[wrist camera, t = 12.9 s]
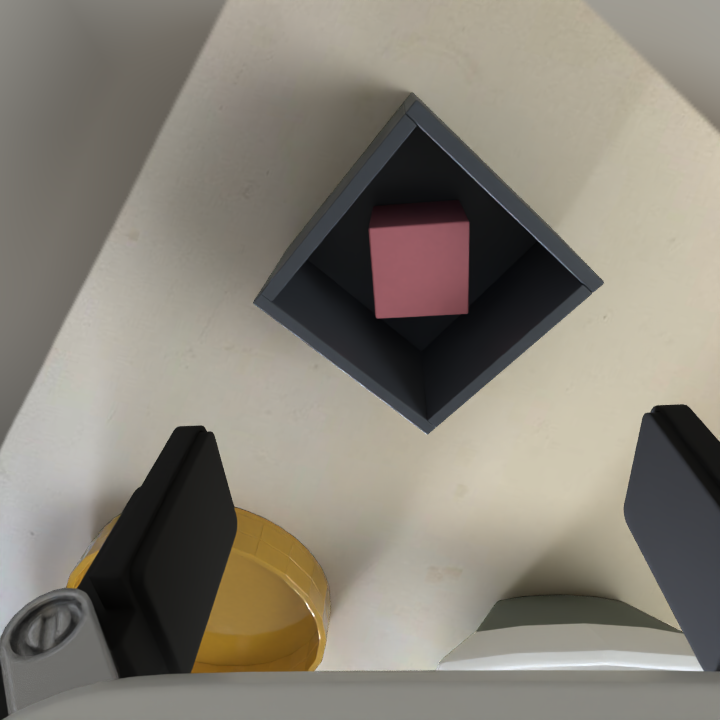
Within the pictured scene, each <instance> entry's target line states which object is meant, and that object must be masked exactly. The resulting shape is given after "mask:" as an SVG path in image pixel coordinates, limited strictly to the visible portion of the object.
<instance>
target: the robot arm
mask: <svg viewBox="0 0 720 720" xmlns="http://www.w3.org/2000/svg"><path fill="white" fill-rule="evenodd" d="M624 516H625V520H626V523H627V525H628V527H629V529H630V531H631V533H632V535H633V537H634V539H635V541H636V542H637V544H638V546H639V548H640V550H641V552H642V554H643V556H644V558H645V560H646V562H647V564H648V566H649V567H650V569H651V571H652V573H653V575H654V577H655V579H656V581H657V583H658V585H659V587H660V589H661V591H662V593H663V594H664V596H665V598H666V600H667V602H668V604H669V606H670V608H671V610H672V612H673V614H674V616H675V618H676V619H677V621H678V623H679V625H680V627H681V629H682V631H683V633H684V635H685V637H686V639H687V641H688V643H689V644H690V646H691V648H692V650H693V652H694V654H695V656H696V658H697V660H698V662H699V664H700V666H701V667H702V669H703V671H663V670H436V671H292V672H225V673H191V671H192V669H193V666H194V663H195V660H196V656H197V653H198V650H199V647H200V644H201V641H202V638H203V635H204V632H205V629H206V626H207V623H208V620H209V616H210V613H211V610H212V607H213V604H214V601H215V598H216V595H217V592H218V589H219V586H220V583H221V579H222V576H223V573H224V570H225V567H226V564H227V561H228V558H229V555H230V552H231V549H232V546H233V542H234V539H235V536H236V533H237V524H238V523H237V516H236V512H235V508H234V505H233V501H232V497H231V494H230V490H229V487H228V483H227V479H226V476H225V472H224V468H223V465H222V461H221V457H220V454H219V450H218V447H217V443H216V439H215V436H214V434H213V432H207V431H206V429H205V427H204V426H179V427H176V429H175V430H174V431H173V433H172V435H171V436H170V438H169V440H168V441H167V443H166V445H165V447H164V448H163V450H162V452H161V453H160V455H159V457H158V458H157V460H156V462H155V464H154V465H153V467H152V469H151V470H150V472H149V474H148V475H147V477H146V479H145V481H144V482H143V484H142V486H141V487H139V488H137V490H136V491H135V492H134V493H133V495H132V496H131V498H130V500H129V502H128V503H127V505H126V507H125V508H124V510H123V512H122V513H121V515H120V517H119V518H118V520H117V522H116V523H115V525H114V527H113V528H112V530H111V532H110V533H109V535H108V537H107V538H106V540H105V542H104V543H103V545H102V547H101V549H100V550H99V552H98V554H97V555H96V557H95V559H94V560H93V562H92V564H91V565H90V567H89V569H88V570H87V572H86V574H85V575H84V577H83V579H82V580H81V582H80V584H79V585H78V587H77V588H63V589H58V590H53V591H51V592H48V593H46V594H44V595H41V596H39V597H38V598H36V599H34V600H33V601H31V602H30V603H28V604H27V605H25V606H24V607H23V608H22V609H21V610H20V611H19V612H18V613H17V614H15V615H14V617H13V618H12V619H11V621H10V622H9V623H8V624H7V626H6V627H5V629H4V631H3V634H2V636H1V638H0V720H720V442H719V441H718V439H717V438H716V437H715V436H714V435H713V434H712V433H711V431H710V430H709V429H708V428H707V427H706V426H705V425H704V423H703V422H702V421H701V420H700V419H699V418H698V417H697V416H696V414H695V413H694V412H693V411H692V410H691V409H690V408H689V407H688V406H687V405H684V404H680V405H658V406H654V407H653V409H652V410H651V413H645V414H644V416H643V418H642V423H641V427H640V432H639V437H638V442H637V446H636V451H635V456H634V461H633V465H632V470H631V475H630V479H629V484H628V489H627V494H626V498H625V503H624Z"/></svg>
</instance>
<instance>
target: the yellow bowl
mask: <svg viewBox="0 0 720 720" xmlns="http://www.w3.org/2000/svg"><path fill="white" fill-rule="evenodd" d="M234 508H235V512H236V516H237V523H238V524H237V533H236V536H235V539H234V542H233V546H232V549H231V552H230V555H229V558H228V561H227V564H226V567H225V570H224V573H223V576H222V579H221V583H220V586H219V589H218V592H217V595H216V598H215V601H214V604H213V607H212V610H211V613H210V616H209V620H208V623H207V626H206V629H205V632H204V635H203V638H202V641H201V644H200V647H199V650H198V653H197V656H196V660H195V663H194V666H193V669H192V671H191V673H225V672H292V671H315V669H316V668H317V667H318V665H319V664H320V663H321V661H322V658H323V654H324V649H325V645H326V641H327V633H328V625H329V618H330V610H331V605H330V602H331V601H330V590H329V586H328V582H327V579H326V577H325V575H324V572H323V570H322V568H321V567H320V565H319V564H318V562H317V561H316V559H315V558H314V556H313V555H312V554H311V553H310V552H309V551H308V550H307V548H306V547H305V546H304V545H302V544H301V543H300V542H299V541H298V540H297V539H296V538H295V537H293V536H292V535H291V534H289V533H288V532H286V531H285V530H284V529H282V528H281V527H279V526H277V525H275V524H274V523H272V522H270V521H268V520H266V519H264V518H262V517H260V516H258V515H255V514H253V513H251V512H248V511H245V510H242V509H239V508H236V507H234ZM120 515H121V514H120ZM120 515H118V516H117V517H115V518H114V519H113V520H111V521H110V522H109V523H108V524H106V525H105V526H104V527H103V528H102V529H101V531H100V532H99V533H98V535H97V536H96V537H95V539H94V540H93V541H92V542H91V543H90V545H89V546H88V548H87V550H86V551H85V553H84V554H83V556H82V557H81V559H80V560H79V562H78V563H77V565H76V566H75V568H74V569H73V571H72V572H71V574H70V576H69V580H68V583H67V587H66V588H77V587H78V585H79V584H80V582H81V580H82V579H83V577H84V575H85V574H86V572H87V570H88V569H89V567H90V565H91V564H92V562H93V560H94V559H95V557H96V555H97V554H98V552H99V550H100V549H101V547H102V545H103V543H104V542H105V540H106V538H107V537H108V535H109V533H110V532H111V530H112V528H113V527H114V525H115V523H116V522H117V520H118V518H119V517H120Z"/></svg>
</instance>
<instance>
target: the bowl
mask: <svg viewBox="0 0 720 720" xmlns="http://www.w3.org/2000/svg"><path fill="white" fill-rule="evenodd" d="M436 670H663V671H703V669H702V667H701V666H700V664H699V662H698V660H697V658H696V656H695V654H694V652H693V650H692V648H691V646H690V644H689V643H688V641H687V639H686V637H685V635H684V633H683V632H682V631H680V630H678V629H676V628H674V627H672V626H670V625H668V624H666V623H664V622H662V621H660V620H658V619H656V618H654V617H652V616H650V615H648V614H646V613H644V612H642V611H641V610H639V609H637V608H635V607H633V606H631V605H629V604H627V603H624V602H621V601H615V600H610V599H604V598H599V597H588V596H573V595H545V596H525V597H519V598H512V599H506V600H500V601H498V602H497V603H496V604H495V605H494V607H493V608H492V610H491V611H490V613H489V614H488V615H487V617H486V618H485V620H484V621H483V622H482V624H481V625H480V627H479V628H478V629H477V631H476V632H475V633H473V634H471V635H470V636H469V637H468V638H467V639H466V640H464V641H463V642H462V643H461V644H460V645H458V646H457V647H456V648H455V649H454V650H453V651H451V652H450V653H449V654H448V655H447V656H445V657H444V658H443V659H442V660H441V661H440V662H439V664H438V667H437V669H436Z"/></svg>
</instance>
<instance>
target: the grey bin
mask: <svg viewBox="0 0 720 720" xmlns="http://www.w3.org/2000/svg"><path fill="white" fill-rule="evenodd" d="M449 200H459V201H460V203H461V205H462V207H463V210H464V212H465V214H466V216H467V218H468V220H469V306H468V314H456V315H437V316H419V317H400V318H381V319H377V318H376V317H375V306H374V294H373V281H372V269H371V256H370V244H369V231H368V229H369V224H370V219H371V214H372V209H373V207H374V206H382V205H395V204H409V203H422V202H436V201H449ZM603 284H604V282H603V280H602V279H601V278H600V277H599V276H598V275H597V274H596V273H595V272H594V271H593V270H592V269H591V268H590V267H589V266H588V265H587V264H586V263H585V262H584V261H583V260H582V259H581V258H580V257H579V256H578V255H577V254H576V253H575V252H574V251H573V250H572V249H571V248H570V247H569V245H568V244H567V243H566V242H565V241H564V240H563V239H562V238H561V237H560V236H559V235H558V234H557V233H556V232H555V231H554V230H553V229H552V228H551V227H550V226H549V225H548V224H547V223H546V222H545V221H544V220H543V219H542V218H541V217H540V216H539V215H538V214H537V213H535V212H534V211H533V210H532V209H531V208H530V207H529V206H528V205H527V204H526V203H525V202H524V201H523V200H522V199H521V198H520V197H519V196H518V195H517V194H516V193H515V192H514V191H513V190H512V189H511V188H510V187H509V186H508V185H507V184H506V183H505V182H504V181H503V180H502V179H501V178H500V177H499V176H498V175H497V174H496V173H495V172H494V171H493V170H492V169H491V168H490V167H489V166H487V165H486V164H485V163H484V162H483V161H482V160H481V159H480V158H479V157H478V156H477V155H476V154H475V153H474V152H473V151H472V150H471V149H470V148H469V147H468V146H467V145H466V144H465V143H464V142H463V141H462V140H461V139H460V138H459V137H458V136H457V135H456V134H455V133H454V132H453V131H452V130H451V129H450V128H449V127H448V126H447V125H446V124H445V123H444V122H443V121H442V120H441V119H439V118H438V117H437V116H436V115H435V114H434V113H433V112H432V111H431V110H430V109H429V108H428V107H427V106H426V105H425V104H424V103H423V102H422V101H421V100H420V99H419V98H418V97H417V96H416V95H415V94H414V93H411V94H410V95H409V96H408V97H407V99H406V100H405V101H404V102H403V104H402V105H401V106H400V107H399V109H398V110H397V111H396V113H395V114H394V115H393V116H392V118H391V119H390V120H389V121H388V123H387V124H386V125H385V126H384V128H383V129H382V130H381V131H380V133H379V134H378V135H377V136H376V138H375V139H374V140H373V141H372V143H371V144H370V145H369V147H368V148H367V149H366V150H365V152H364V153H363V154H362V155H361V157H360V158H359V159H358V160H357V162H356V163H355V164H354V165H353V167H352V168H351V169H350V170H349V172H348V173H347V174H346V175H345V177H344V178H343V179H342V181H341V182H340V183H339V184H338V186H337V187H336V188H335V189H334V191H333V192H332V193H331V194H330V196H329V197H328V198H327V199H326V201H325V202H324V203H323V204H322V206H321V207H320V208H319V209H318V211H317V212H316V213H315V215H314V216H313V217H312V218H311V220H310V221H309V222H308V223H307V225H306V226H305V227H304V228H303V230H302V231H301V232H300V233H299V235H298V236H297V237H296V238H295V240H294V241H293V242H292V244H291V245H290V246H289V247H288V249H287V250H286V251H285V253H284V254H283V256H282V258H281V259H280V261H279V262H278V264H277V265H276V267H275V269H274V270H273V272H272V273H271V275H270V276H269V278H268V280H267V281H266V283H265V284H264V286H263V287H262V289H261V291H260V292H259V294H258V295H257V297H256V298H255V300H254V302H253V303H254V304H255V305H256V306H257V307H259V308H260V309H261V310H263V311H264V312H265V313H267V314H268V315H269V316H271V317H272V318H273V319H275V320H276V321H277V322H279V323H280V324H281V325H283V326H284V327H285V328H287V329H288V330H289V331H290V332H292V333H293V334H294V335H296V336H297V337H298V338H300V339H301V340H302V341H304V342H305V343H306V344H308V345H309V346H310V347H312V348H313V349H314V350H316V351H317V352H318V353H320V354H321V355H322V356H324V357H325V358H326V359H328V360H329V361H330V362H332V363H333V364H334V365H336V366H337V367H338V368H340V369H341V370H342V371H344V372H345V373H346V374H348V375H349V376H350V377H352V378H353V379H354V380H356V381H357V382H358V383H359V384H361V385H362V386H363V387H365V388H366V389H367V390H369V391H370V392H371V393H373V394H374V395H375V396H377V397H378V398H379V399H381V400H382V401H383V402H385V403H386V404H387V405H389V406H390V407H391V408H393V409H394V410H395V411H397V412H398V413H399V414H401V415H402V416H403V417H405V418H406V419H407V420H409V421H410V422H411V423H413V424H414V425H415V426H417V427H418V428H419V429H421V430H422V431H423V432H425V433H426V434H429V433H430V432H431V431H432V430H434V429H435V427H437V426H438V425H439V424H441V423H442V422H443V421H444V420H445V419H446V418H448V417H449V416H450V415H451V414H452V413H453V412H455V411H456V410H457V409H458V408H459V407H460V406H462V405H463V404H464V403H465V402H466V401H467V400H469V399H470V398H471V397H472V396H473V395H474V394H476V393H477V392H478V391H479V390H480V389H481V388H483V387H484V386H485V385H486V384H487V383H488V382H490V381H491V380H492V379H493V378H494V377H495V376H497V375H498V374H499V373H500V372H501V371H502V370H504V369H505V368H506V367H507V366H508V365H509V364H511V363H512V362H513V361H514V360H515V359H516V358H518V357H519V356H520V355H521V354H522V353H523V352H525V351H526V350H527V349H528V348H529V347H531V346H532V345H533V344H534V343H535V342H536V341H538V340H539V339H540V338H541V337H542V336H543V335H545V334H546V333H547V332H548V331H549V330H550V329H552V328H553V327H554V326H555V325H556V324H557V323H559V322H560V321H561V320H562V319H563V318H564V317H566V316H567V315H568V314H569V313H570V312H571V311H573V310H574V309H575V308H576V307H577V306H578V305H580V304H581V303H582V302H583V301H584V300H585V299H587V298H588V297H589V296H590V295H591V294H592V292H594V291H596V290H597V289H598V288H599V287H600V286H601V285H603Z"/></svg>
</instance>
